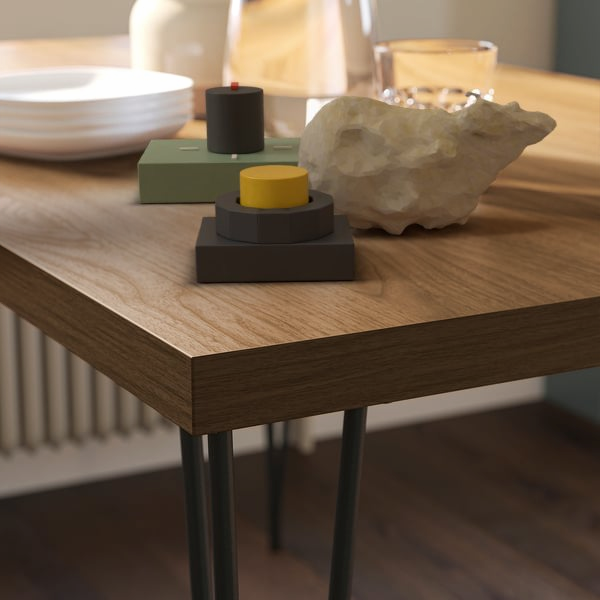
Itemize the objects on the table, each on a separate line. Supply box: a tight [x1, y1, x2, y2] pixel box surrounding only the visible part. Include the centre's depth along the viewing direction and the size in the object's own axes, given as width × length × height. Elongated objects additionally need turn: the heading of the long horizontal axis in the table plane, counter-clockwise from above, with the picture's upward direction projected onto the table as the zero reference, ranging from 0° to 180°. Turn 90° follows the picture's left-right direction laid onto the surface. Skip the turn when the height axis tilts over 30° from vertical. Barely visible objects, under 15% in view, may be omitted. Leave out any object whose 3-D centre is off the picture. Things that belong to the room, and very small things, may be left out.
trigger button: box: [240, 165, 309, 209], centre depth 69 cm, size 4×4×2 cm
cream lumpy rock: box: [298, 91, 558, 236], centre depth 78 cm, size 15×7×15 cm
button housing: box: [194, 189, 356, 283], centre depth 70 cm, size 9×7×4 cm
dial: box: [204, 81, 265, 154], centre depth 90 cm, size 4×4×5 cm
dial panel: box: [137, 137, 301, 204], centre depth 91 cm, size 14×10×3 cm
